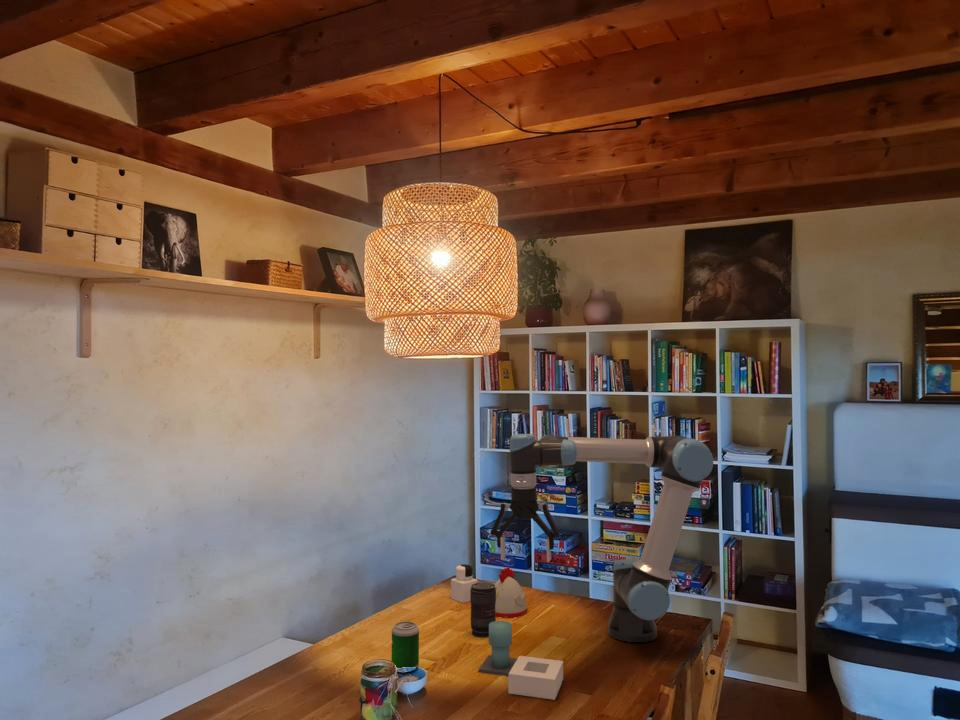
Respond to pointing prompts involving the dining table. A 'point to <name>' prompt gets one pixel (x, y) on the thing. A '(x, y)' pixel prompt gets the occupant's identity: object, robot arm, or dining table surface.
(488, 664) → the slate mat
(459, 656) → the dining table surface
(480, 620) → the camera lens
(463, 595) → the medicine bottle
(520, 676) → the bore block
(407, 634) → the soda can
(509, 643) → the capped plug
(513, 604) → the kitchen timer
